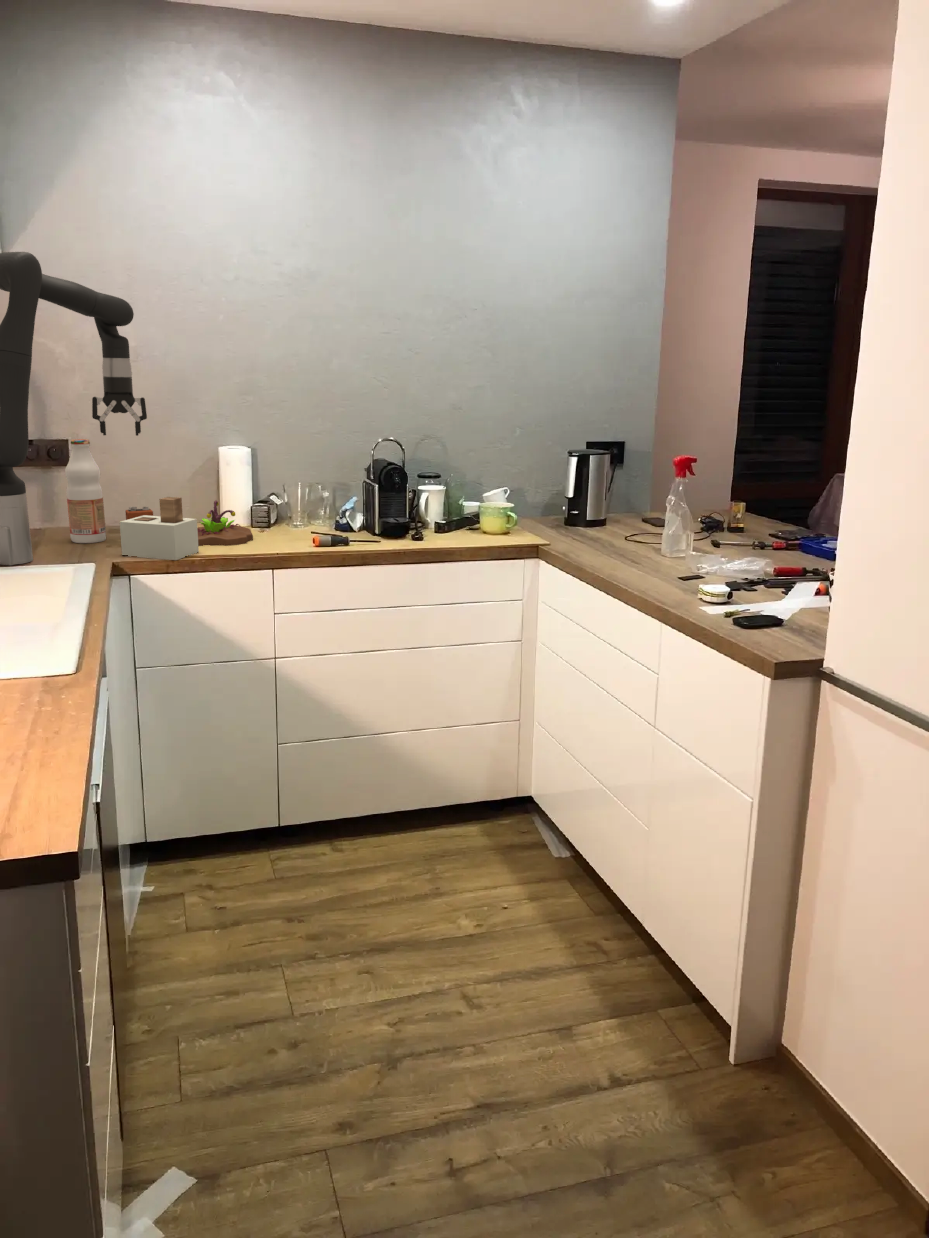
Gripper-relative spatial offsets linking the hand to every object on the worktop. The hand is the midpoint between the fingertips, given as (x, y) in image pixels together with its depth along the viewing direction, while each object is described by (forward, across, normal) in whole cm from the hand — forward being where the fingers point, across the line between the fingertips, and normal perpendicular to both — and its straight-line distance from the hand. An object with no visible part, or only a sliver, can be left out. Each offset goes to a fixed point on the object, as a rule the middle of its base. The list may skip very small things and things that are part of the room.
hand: (121, 435), depth 275 cm
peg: (+23, +12, -28) cm, 38 cm away
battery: (+29, +4, -8) cm, 30 cm away
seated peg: (+29, +6, -23) cm, 38 cm away
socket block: (+29, +9, -25) cm, 40 cm away
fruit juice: (+29, -10, -2) cm, 31 cm away
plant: (+29, +25, -7) cm, 39 cm away
